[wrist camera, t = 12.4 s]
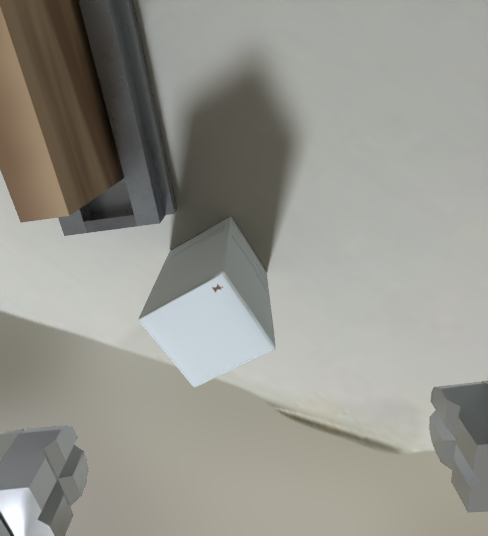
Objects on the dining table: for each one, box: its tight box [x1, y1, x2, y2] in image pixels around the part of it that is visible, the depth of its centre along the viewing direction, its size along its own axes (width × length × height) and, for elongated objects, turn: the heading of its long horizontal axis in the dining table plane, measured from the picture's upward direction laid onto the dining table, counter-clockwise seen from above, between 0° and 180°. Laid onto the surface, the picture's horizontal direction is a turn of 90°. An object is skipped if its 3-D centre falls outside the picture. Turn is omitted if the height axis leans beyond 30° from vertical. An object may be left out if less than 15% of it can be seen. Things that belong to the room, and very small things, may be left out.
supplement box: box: [138, 217, 275, 387], centre depth 33 cm, size 7×7×13 cm
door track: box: [58, 0, 177, 236], centre depth 31 cm, size 10×22×4 cm, turn 8°
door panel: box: [0, 0, 124, 222], centre depth 26 cm, size 3×14×12 cm, turn 8°
